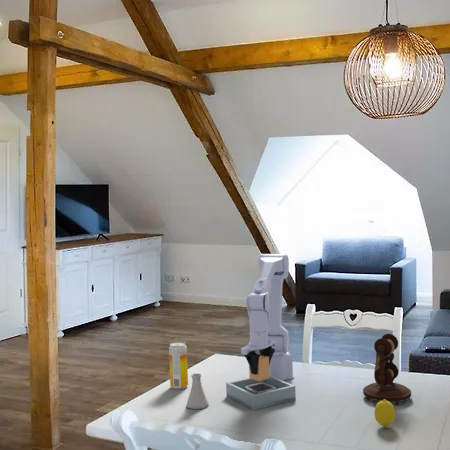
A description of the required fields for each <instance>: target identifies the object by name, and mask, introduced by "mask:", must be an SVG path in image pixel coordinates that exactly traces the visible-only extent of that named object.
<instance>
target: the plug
mask: <svg viewBox="0 0 450 450" xmlns="http://www.w3.org/2000/svg"><path fill="white" fill-rule="evenodd" d="M248 367H249V369H248V371H249V373H248V374H249V378H250V379H253V380H257V381H262V380H265V379H268V378H269V357H268V356H264V355H260V357H259V361H258V373H257V375H255V374H251V370H250V366H249V365H248Z"/></svg>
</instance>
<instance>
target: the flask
mask: <svg viewBox="0 0 450 450" xmlns="http://www.w3.org/2000/svg"><path fill="white" fill-rule="evenodd" d="M190 376H191V379H192V380H191V381H192V382H191V384H192V385H191V389H190V392H189V395H188V399H187V402H186V406H185V407H186V408H188V409H191V410H203V409H204V408H207V407H209V401H208V399H207V396H206V393H205V391H204V389H203V388H204V387H203V386H202V381H201V379H202V378H201V377H202V374H201V373H199V372H198V373H197V372H196V373H192V374H191V375H190Z"/></svg>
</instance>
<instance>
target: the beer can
mask: <svg viewBox="0 0 450 450" xmlns="http://www.w3.org/2000/svg"><path fill="white" fill-rule="evenodd" d="M168 357H169V358H168V359H169V383H170V384H169V385H170V387H171V389H173V390H184V389H186V388H188V387H187V386H188V385H189V376H188V375H189V372H188V371H189V368H188V347H187V345H186V343H185V342H178V341H177V342H176V341H175V342H172V343H170V344H169V347H168Z"/></svg>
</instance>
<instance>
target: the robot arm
mask: <svg viewBox="0 0 450 450" xmlns="http://www.w3.org/2000/svg"><path fill="white" fill-rule="evenodd" d="M289 260H290V259H289V256H288V254H287V253H261V254H260V255H259V256H258V269H259V270H260V277H259V278H258V279H257V280H256V281H255V283H254V286H253V288H252V291H251V293H250V294H248V295H247V297H246V310H247V316H248V317H249V342H248V344H247V345H244V346H243V347H240V354H241V355H243V356H244V357H245V359H246V361H247V363H248V367H249V366H250V370H251V374H255V375H257V373H258V361H259V357H260V355H264V356H268V357H269V375H270V376H272V377H275V378H277V379H280V380H282V381H286V380H291V379H294V378H295V376H294V371H293V367H294V365H293V364H294V363H293V357H292V355H291V353H290V352H289V350H290V344H291V343H290V332H289V331H288V329H286V328H285V327H284V326H283V325H282V313H283V310H282V309H283V286H284V285H283V284H284V280H285V279H287V278H289V274H290V272H289V271H290V270H289V269H290V267H289V266H290V261H289ZM280 334H281V335H280ZM258 351H259V353H257V352H258Z"/></svg>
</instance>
